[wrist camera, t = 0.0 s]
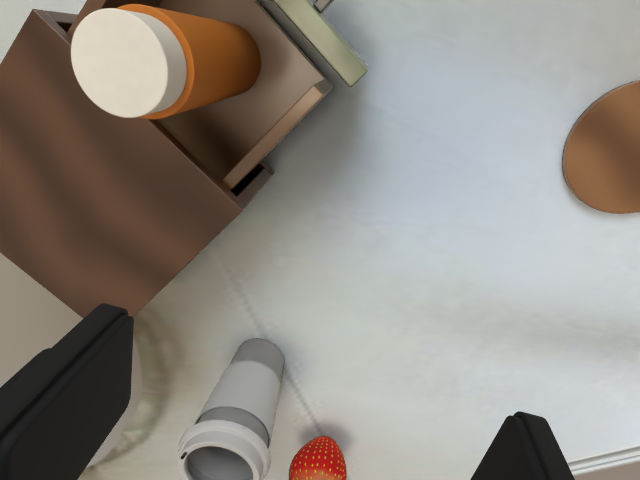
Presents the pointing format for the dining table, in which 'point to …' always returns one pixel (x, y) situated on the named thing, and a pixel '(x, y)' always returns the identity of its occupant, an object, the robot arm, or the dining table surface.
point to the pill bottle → (160, 60)
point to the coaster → (607, 152)
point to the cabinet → (97, 183)
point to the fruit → (318, 461)
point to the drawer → (270, 87)
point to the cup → (236, 419)
